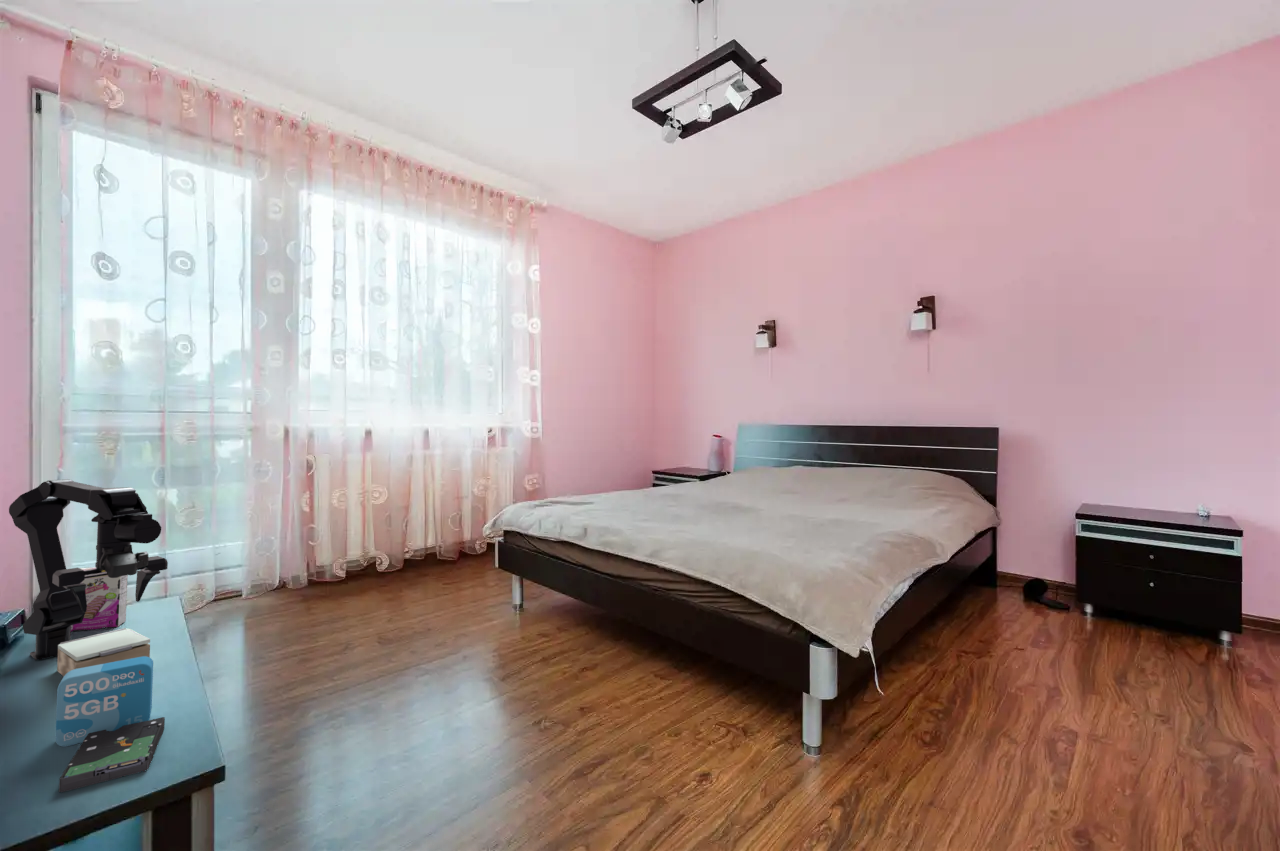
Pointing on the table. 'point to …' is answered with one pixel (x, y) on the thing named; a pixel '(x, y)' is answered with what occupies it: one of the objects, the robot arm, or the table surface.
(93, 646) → the lid
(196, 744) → the table surface
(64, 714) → the data package
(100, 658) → the box
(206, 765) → the table surface
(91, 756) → the disk drive
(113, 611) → the candy bar box
